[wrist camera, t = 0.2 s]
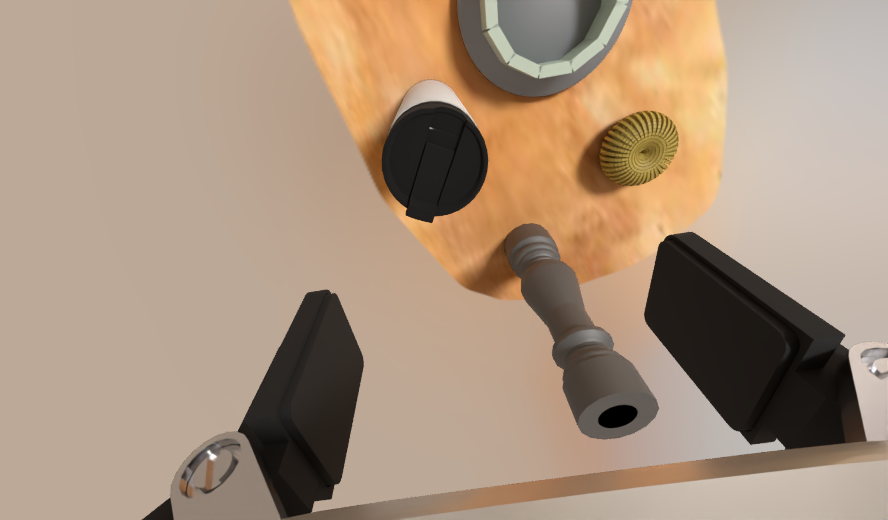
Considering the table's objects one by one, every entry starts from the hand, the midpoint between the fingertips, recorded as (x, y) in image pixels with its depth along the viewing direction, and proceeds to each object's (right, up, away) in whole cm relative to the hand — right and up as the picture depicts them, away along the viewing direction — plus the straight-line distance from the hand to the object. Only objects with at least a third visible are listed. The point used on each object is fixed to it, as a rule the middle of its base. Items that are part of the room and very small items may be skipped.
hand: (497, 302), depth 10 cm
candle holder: (+10, +4, +35) cm, 37 cm away
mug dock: (+8, +25, +21) cm, 34 cm away
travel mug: (-3, +17, +26) cm, 31 cm away
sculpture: (+20, +15, +29) cm, 38 cm away
